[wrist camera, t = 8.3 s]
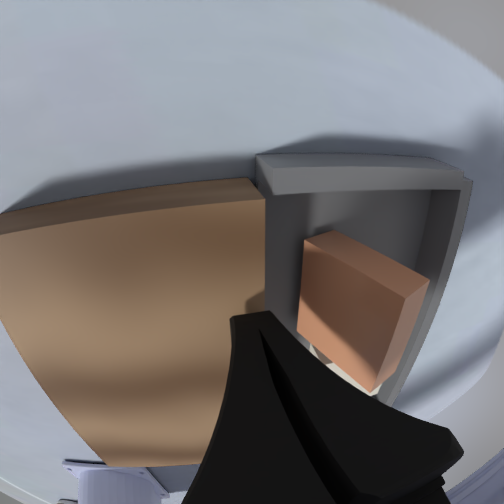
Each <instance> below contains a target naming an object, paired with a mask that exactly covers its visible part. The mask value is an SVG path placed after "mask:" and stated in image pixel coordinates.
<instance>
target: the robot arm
mask: <svg viewBox="0 0 504 504" xmlns="http://www.w3.org/2000/svg"><path fill="white" fill-rule="evenodd" d="M229 321H230V333H231V356H230V365H229V372H228V377H227V382H226V388H225V392H224V397H223V401H222V405H221V408H220V412H219V415H218V419H217V422H216V425H215V428H214V431H213V434H212V437H211V440H210V443H209V445H208V448H207V450H206V453H205V455H204V457H203V460H202V462H201V465H200V467H199V469H198V472H197V474H196V476H195V478H194V480H193V482H192V484H191V486H190V488H189V490H188V492H187V494H186V496H185V497H184V499H183V501H182V503H181V504H504V448H503V449H502V450H501V451H500V452H499V453H498V454H497V455H495V456H494V457H493V458H492V459H491V460H489V461H488V462H487V463H486V464H484V465H483V466H482V467H481V468H479V469H478V470H477V471H475V472H474V473H473V474H472V475H470V476H469V477H467V478H466V479H465V480H463V481H462V482H460V483H459V484H458V485H456V486H455V487H453V488H452V489H450V490H449V491H447V492H446V493H445V492H444V490H443V488H442V486H443V485H444V484H445V481H444V479H443V477H442V476H441V475H442V474H443V473H444V472H446V471H447V470H448V469H449V468H450V467H452V466H453V465H454V464H455V463H456V462H457V461H458V460H459V459H460V458H461V457H462V456H463V454H464V451H463V449H462V447H461V446H460V444H459V442H458V441H457V439H456V438H455V436H454V435H453V434H452V432H451V431H450V430H449V429H448V428H445V427H442V426H439V425H436V424H432V423H429V422H426V421H423V420H420V419H417V418H415V417H412V416H410V415H407V414H405V413H403V412H400V411H398V410H396V409H394V408H392V407H390V406H388V405H386V404H384V403H382V402H380V401H378V400H376V399H374V398H373V397H371V396H369V395H367V394H366V393H364V392H362V391H361V390H359V389H358V388H356V387H355V386H353V385H352V384H350V383H349V382H347V381H346V380H344V379H343V378H341V377H340V376H339V375H337V374H336V373H335V372H334V371H332V370H331V369H330V368H328V367H327V366H326V365H325V364H324V363H322V362H321V361H320V360H319V359H318V358H317V357H315V356H314V355H313V354H312V353H311V352H310V351H309V350H308V349H307V348H306V347H305V346H304V345H302V344H301V343H300V342H299V341H298V340H297V339H296V338H295V337H294V336H293V335H292V334H291V333H290V331H289V330H288V329H287V328H286V327H285V326H284V325H283V324H282V323H281V322H280V321H279V319H278V318H277V317H276V316H275V315H274V314H273V313H272V312H271V311H270V310H268V311H261V312H255V313H248V314H241V315H234V316H232V317H231V318H230V319H229ZM62 466H63V467H64V468H65V469H66V470H67V471H69V472H70V473H71V474H72V475H73V476H75V477H76V478H77V479H79V485H78V504H162V503H161V499H163V498H170V494H169V493H168V492H167V491H166V490H165V489H164V488H163V487H162V486H161V485H160V484H159V482H158V481H157V480H156V479H155V478H154V477H153V476H152V474H151V473H150V472H149V471H148V470H147V469H146V467H109V466H108V465H102V464H86V463H75V462H66V461H63V462H62Z"/></svg>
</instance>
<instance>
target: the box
mask: <svg viewBox="0 0 504 504" xmlns="http://www.w3.org/2000/svg"><path fill="white" fill-rule="evenodd" d="M255 159H256V188H257V190H258V191H259V192H260V193H261V195H262V196H263V197H264V198H265V310H264V311H268V310H270V311H271V312H272V313H273V314H274V315H275V316H276V317H277V318H278V319H279V321H280V322H281V323H282V324H283V325H284V326H285V327H286V328H287V329H288V330H289V331H290V333H291V334H292V335H293V336H294V337H295V338H296V339H297V340H298V341H299V342H300V343H301V344H302V345H304V346H305V347H306V348H307V349H308V350H310V342H309V341H308V340H307V339H305V338H304V337H303V336H302V335H301V334H300V333H298V332H297V322H298V312H299V301H300V289H301V277H302V265H303V251H304V240H305V239H308V238H311V237H314V236H317V235H320V234H323V233H326V232H329V231H332V230H336V231H338V232H340V233H342V234H344V235H346V236H348V237H350V238H352V239H354V240H356V241H358V242H360V243H362V244H364V245H365V246H367V247H369V248H371V249H373V250H375V251H377V252H379V253H381V254H383V255H385V256H387V257H389V258H391V259H392V260H394V261H396V262H398V263H400V264H402V265H404V266H406V267H407V268H409V269H411V270H413V271H415V272H417V273H419V274H420V275H422V276H424V277H426V278H428V279H429V280H430V281H429V285H428V288H427V291H426V294H425V297H424V300H423V303H422V306H421V308H420V311H419V314H418V317H417V320H416V322H415V325H414V328H413V330H412V333H411V335H410V338H409V340H408V343H407V345H406V348H405V350H404V352H403V355H402V357H401V359H400V362H399V364H398V366H397V368H396V370H395V372H394V373H393V374H392V375H391V376H390V377H389V378H388V379H386V380H385V381H384V382H383V383H382V385H381V387H380V389H379V391H378V393H377V394H375V395H372V396H371V397H373V398H374V399H376V400H378V401H380V402H382V403H384V404H386V405H388V406H390V407H391V406H392V404H393V403H394V401H395V399H396V397H397V395H398V394H399V392H400V390H401V388H402V386H403V384H404V382H405V380H406V379H407V377H408V375H409V373H410V371H411V369H412V367H413V364H414V362H415V360H416V358H417V356H418V354H419V352H420V350H421V347H422V345H423V343H424V341H425V338H426V336H427V334H428V331H429V329H430V327H431V324H432V322H433V319H434V317H435V314H436V312H437V309H438V307H439V304H440V301H441V298H442V296H443V293H444V290H445V287H446V284H447V281H448V278H449V275H450V272H451V269H452V266H453V263H454V259H455V256H456V253H457V249H458V246H459V242H460V238H461V234H462V231H463V227H464V222H465V218H466V214H467V209H468V205H469V200H470V195H471V190H472V184H473V181H472V180H469V179H467V178H465V177H463V176H464V171H462V170H460V169H457V168H455V167H452V166H450V165H447V164H445V163H442V162H440V161H437V160H435V159H432V158H425V157H413V156H398V155H379V154H350V153H292V154H262V155H255Z"/></svg>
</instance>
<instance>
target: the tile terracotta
mask: <svg viewBox="0 0 504 504" xmlns="http://www.w3.org/2000/svg"><path fill="white" fill-rule="evenodd" d="M429 281H430V280H429V279H428V278H426V277H424V276H422V275H420V274H419V273H417V272H415V271H413V270H411V269H409V268H407V267H406V266H404V265H402V264H400V263H398V262H396V261H394V260H392V259H391V258H389V257H387V256H385V255H383V254H381V253H379V252H377V251H375V250H373V249H371V248H369V247H367V246H365V245H364V244H362V243H360V242H358V241H356V240H354V239H352V238H350V237H348V236H346V235H344V234H342V233H340V232H338V231H336V230H332V231H329V232H326V233H323V234H320V235H317V236H314V237H311V238H308V239H305V240H304V251H303V265H302V277H301V289H300V301H299V312H298V322H297V332H298V333H300V334H301V335H302V336H303V337H304V338H305V339H307V340H308V341H309V342H310V343H311V344H312V345H314V346H315V347H316V348H317V349H318V350H319V351H321V352H322V353H323V354H324V355H325V356H326V357H328V358H329V359H330V360H331V361H332V362H333V363H335V364H336V365H337V366H338V367H339V368H340V369H342V370H343V371H344V372H345V373H346V374H348V375H349V376H350V377H351V378H352V379H354V380H355V381H356V382H357V383H358V384H360V385H361V386H362V387H363V388H364V389H366V390H367V391H368V392H369V393H371V392H372V391H373V390H375V389H376V388H377V387H378V386H379V385H381V384H382V383H383V382H384V381H385V380H386V379H388V378H389V377H390V376H391V375H392V374H393V373H394V372H395V370H396V368H397V366H398V364H399V362H400V359H401V357H402V355H403V352H404V350H405V348H406V345H407V343H408V340H409V338H410V335H411V333H412V330H413V328H414V325H415V322H416V320H417V317H418V314H419V311H420V308H421V306H422V303H423V300H424V297H425V294H426V291H427V288H428V285H429Z"/></svg>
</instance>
